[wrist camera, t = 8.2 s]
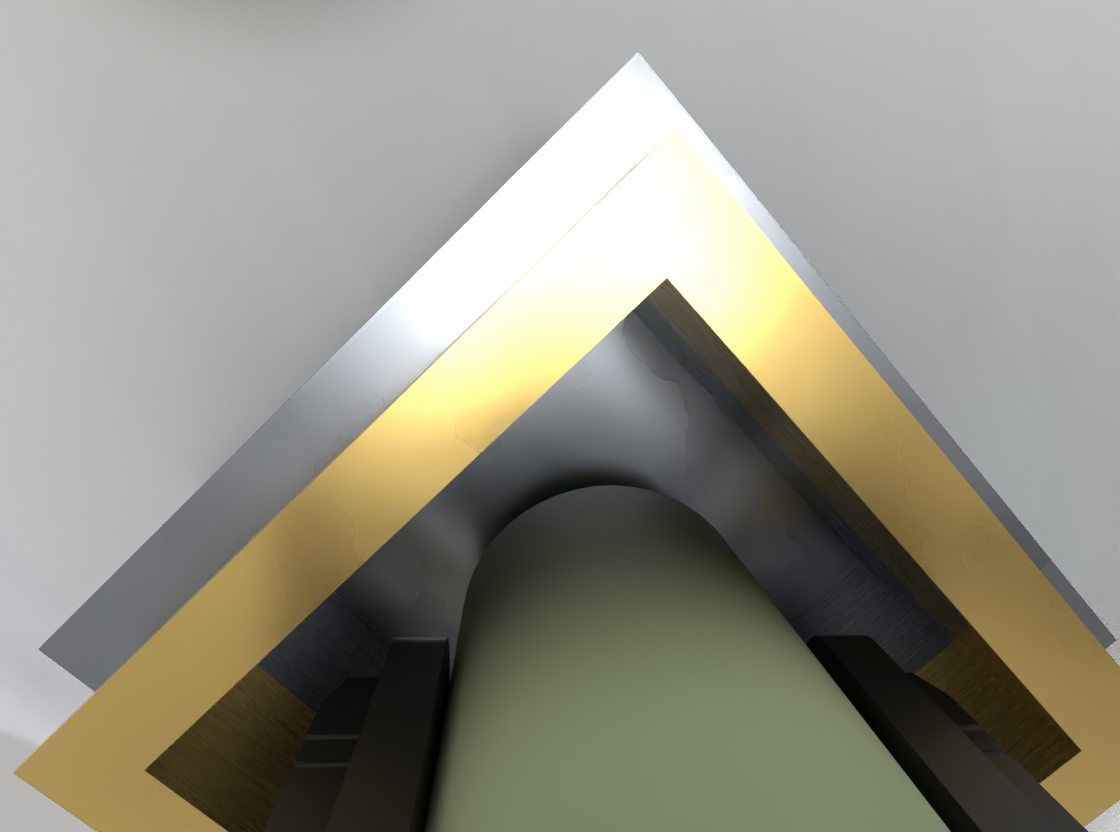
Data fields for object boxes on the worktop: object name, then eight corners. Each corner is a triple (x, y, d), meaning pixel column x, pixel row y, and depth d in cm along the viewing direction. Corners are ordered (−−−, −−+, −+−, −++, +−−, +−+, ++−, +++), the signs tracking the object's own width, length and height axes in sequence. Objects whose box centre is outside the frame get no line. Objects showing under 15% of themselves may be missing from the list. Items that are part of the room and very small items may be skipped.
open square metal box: (906, 511, 17) (1289, 746, 8) (564, 802, 18) (604, 1259, 10) (588, 140, 14) (686, -36, 6) (218, 507, 16) (-123, 776, 7)
